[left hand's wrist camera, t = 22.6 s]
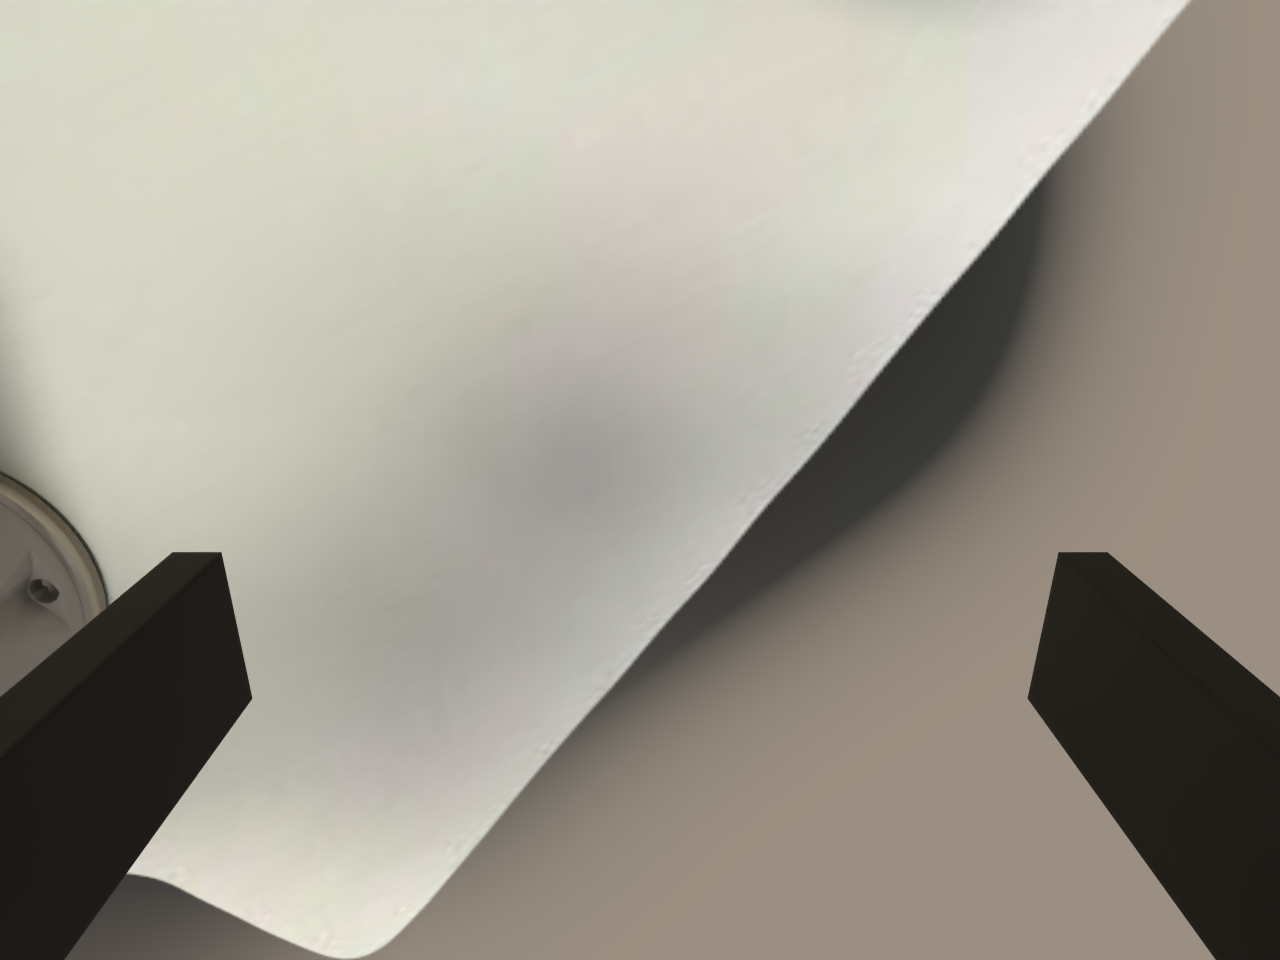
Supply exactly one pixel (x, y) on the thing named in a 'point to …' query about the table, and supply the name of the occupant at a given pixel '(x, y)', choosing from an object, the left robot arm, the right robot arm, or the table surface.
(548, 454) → the table surface
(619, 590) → the table surface
